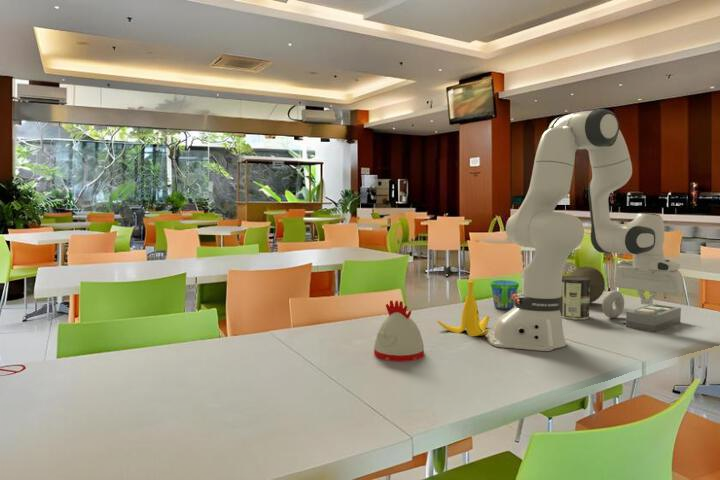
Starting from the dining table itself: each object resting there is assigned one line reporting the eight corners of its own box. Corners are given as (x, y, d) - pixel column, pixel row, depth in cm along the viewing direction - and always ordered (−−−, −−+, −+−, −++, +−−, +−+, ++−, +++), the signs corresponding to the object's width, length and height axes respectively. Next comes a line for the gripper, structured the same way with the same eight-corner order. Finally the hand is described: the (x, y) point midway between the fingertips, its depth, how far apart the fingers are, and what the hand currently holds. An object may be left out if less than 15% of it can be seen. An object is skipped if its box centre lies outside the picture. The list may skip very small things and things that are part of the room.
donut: (608, 320, 182) (609, 292, 181) (599, 318, 185) (600, 291, 184) (626, 317, 187) (627, 289, 186) (617, 315, 190) (618, 288, 189)
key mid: (657, 315, 173) (657, 309, 173) (645, 313, 176) (645, 307, 176) (662, 313, 176) (663, 307, 175) (650, 311, 179) (650, 305, 179)
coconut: (559, 302, 214) (560, 265, 213) (587, 299, 219) (588, 264, 217) (583, 308, 201) (584, 270, 200) (613, 306, 205) (614, 268, 204)
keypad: (654, 331, 167) (655, 316, 166) (626, 326, 174) (626, 311, 173) (680, 322, 179) (680, 307, 178) (652, 317, 186) (653, 303, 186)
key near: (649, 318, 169) (649, 312, 169) (636, 316, 172) (636, 310, 172) (654, 316, 172) (655, 310, 172) (642, 314, 175) (642, 308, 175)
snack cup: (517, 313, 195) (517, 286, 194) (488, 311, 199) (488, 284, 198) (519, 304, 210) (519, 279, 209) (492, 303, 213) (492, 278, 212)
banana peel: (489, 326, 177) (489, 277, 176) (489, 341, 159) (489, 286, 157) (439, 323, 181) (440, 275, 180) (434, 338, 163) (434, 285, 161)
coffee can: (582, 313, 194) (583, 275, 193) (594, 319, 183) (595, 280, 182) (554, 313, 194) (555, 275, 193) (564, 320, 184) (565, 280, 183)
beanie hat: (393, 344, 156) (393, 294, 155) (433, 352, 148) (433, 299, 146) (364, 355, 146) (363, 302, 144) (405, 364, 137) (405, 308, 136)
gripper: (611, 260, 177) (610, 300, 178) (677, 266, 161) (676, 310, 162) (620, 259, 181) (619, 298, 182) (685, 264, 165) (684, 307, 166)
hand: (646, 304), depth 172 cm, fingers closed
